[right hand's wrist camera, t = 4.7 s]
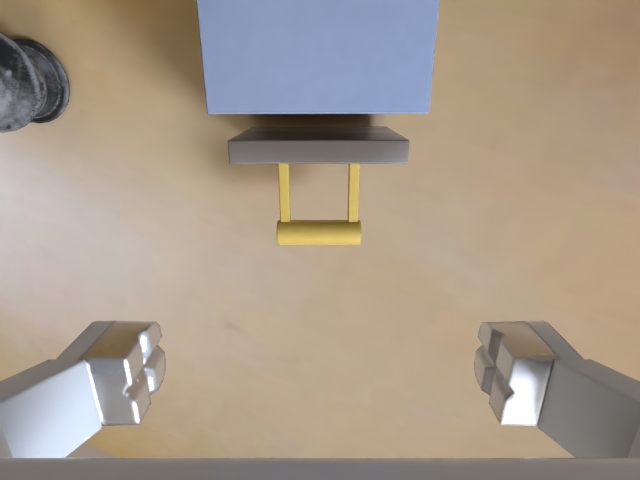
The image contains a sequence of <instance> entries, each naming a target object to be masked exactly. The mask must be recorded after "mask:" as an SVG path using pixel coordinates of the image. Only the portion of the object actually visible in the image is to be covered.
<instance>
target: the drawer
mask: <svg viewBox="0 0 640 480" xmlns="http://www.w3.org/2000/svg"><path fill="white" fill-rule="evenodd" d="M408 151H409V140H408V139H406V138H404V137H403V136H401V135H399V134H397V133H396V132H394V131H392V130H390V129H389V128H387V127H252V128H250V129H248V130H247V131H245V132H243V133H241V134H239V135H237V136H235V137H234V138H232V139H230V140H228V152H229V162H230V164H278V173H279V198H280V220H279V221H278V222H277V242H278V244H279V245H360V243H361V222H360V220H358V199H359V168H360V164H406V163H407V162H408ZM289 164H349V182H348V220H290V219H291V216H290V182H289Z"/></svg>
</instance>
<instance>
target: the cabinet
mask: <svg viewBox="0 0 640 480" xmlns="http://www.w3.org/2000/svg"><path fill="white" fill-rule="evenodd" d="M438 6H439V0H197V11H198V21H199V31H200V42H201V52H202V62H203V72H204V83H205V93H206V103H207V113H208V114H428V113H429V106H430V95H431V84H432V73H433V62H434V51H435V39H436V28H437V17H438Z"/></svg>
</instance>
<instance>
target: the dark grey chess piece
mask: <svg viewBox="0 0 640 480" xmlns="http://www.w3.org/2000/svg"><path fill="white" fill-rule="evenodd" d="M69 95H70V89H69V81H68V78H67V75H66V72H65V70H64V68H63V67H62V65H61V63H60V62H59V60H58V59H57V58H56V57H55V56H54V55H53V54H52V53H51V52H50V51H49V50H47V49H46V48H45V47H43V46H42V45H40V44H38V43H35V42H33V41H30V40H24V39H13V40H11V39H10V38H8V37H7V36H6V35H4V34H3V33H1V32H0V132H3V133H4V132H10V131H16V130H18V129H20V128H22V127H24V126H26V125H27V124H28V123H29V122H32V123H44V122H50V121H52V120H54V119H56V118H58V117H59V116H60V115H61V114H62V113H63V112H64V110H65V108H66V106H67V104H68V101H69Z"/></svg>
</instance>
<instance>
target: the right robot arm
mask: <svg viewBox="0 0 640 480" xmlns="http://www.w3.org/2000/svg"><path fill="white" fill-rule="evenodd" d="M161 337H162V335H161V330H160V325H159V324H158V323H157V322H144V321H96V322H92V323H91V324H90V325H89V326H88V327H87V328H86V329H85V330H84V331H83V332H82V333H81V334H80V335H79V336H78V337H77V338H76V339H75V340H74V341H73V342H72V344H71V345H70V346H69V347H68V348H67V349H66V350H65V351H64V352H63V353H62V354H61V355H60V356H59V357H58V358H57V359H56V360H47V361H45V362H43V363H40V364H38V365H36V366H34V367H32V368H29V369H27V370H25V371H23V372H21V373H18V374H16V375H14V376H12V377H10V378H7V379H5V380H3V381H1V382H0V480H640V382H639V381H637V380H635V379H633V378H630V377H628V376H626V375H624V374H622V373H619V372H617V371H615V370H613V369H611V368H608V367H606V366H604V365H602V364H600V363H597V362H595V361H593V360H584V359H583V358H582V357H581V356H580V355H579V354H578V353H577V352H576V351H575V349H574V348H573V347H572V346H571V345H570V344H569V343H568V342H567V341H566V340H565V339H564V338H563V337H562V336H561V335H560V334H559V333H558V332H557V331H556V330H555V329H554V328H553V327H552V326H551V325H550V324H549V323H548V322H545V321H518V322H482V324H481V326H480V329H479V334H478V337H479V339H480V341H481V342H482V344H483V345H482V346H481V347H480V348H479V349H478V350H477V351H476V352H475V360H474V367H475V375H476V378H477V382H478V384H479V386H480V388H481V390H483V391H484V392H486V393H487V394H489V395H490V400H489V405H490V406H491V408H492V410H493V412H494V414H495V415H496V417H497V419H498V421H499V423H500V425H524V426H538V428H539V429H540V430H541V431H543V432H544V433H545V434H547V435H548V436H549V437H550V438H552V439H553V440H554V441H555V442H557V443H558V444H559V445H560V446H562V447H563V448H564V449H565V450H567V451H568V452H569V453H570V454H572V455H573V456H574V457H575V458H65V457H66V456H67V455H68V454H70V453H71V452H72V451H74V450H75V449H76V448H77V447H79V446H80V445H81V444H82V443H84V442H85V441H86V440H87V439H89V438H90V437H91V436H92V435H94V434H95V433H96V432H97V431H99V430H100V429H101V428H102V426H115V425H140V423H141V421H142V419H143V417H144V416H145V414H146V412H147V410H148V408H149V406H150V405H151V400H150V395H151V394H153V393H154V392H156V391H157V390H159V388H160V386H161V384H162V382H163V378H164V374H165V370H166V359H165V352H164V351H163V350H162V349H161V348H160V347H159V346H158V345H157V344H158V342H159V341H160V339H161Z"/></svg>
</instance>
